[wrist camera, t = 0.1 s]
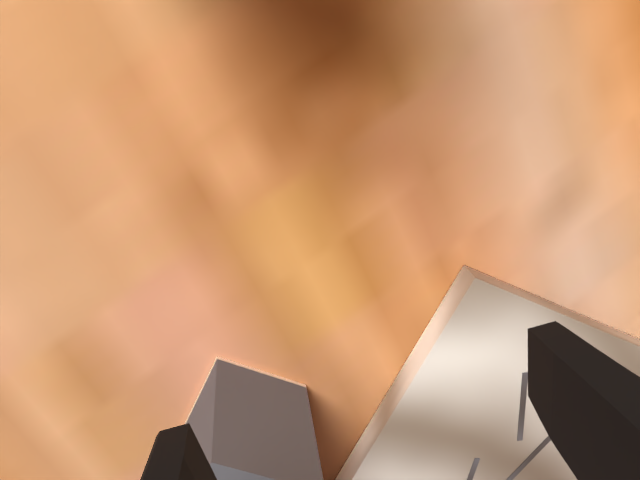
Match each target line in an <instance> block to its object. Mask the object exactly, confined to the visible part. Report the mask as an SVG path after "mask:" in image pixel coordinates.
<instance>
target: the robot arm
mask: <svg viewBox="0 0 640 480" xmlns="http://www.w3.org/2000/svg"><path fill="white" fill-rule="evenodd" d="M528 397H529V399H530V401H531V403H532V405H533V407H534V409H535V411H536V413H537V415H538V417H539V419H540V421H541V422H542V424H543V426H544V428H545V430H546V432H547V434H548V436H549V437H550V439H551V441H552V442H553V444H554V445H555V447H556V449H557V450H558V452H559V453H560V455H561V456H562V458H563V459H564V460H565V462H566V463H567V465H568V466H569V468H570V469H571V471H572V472H573V474H574V475H575V477H576V478H577V480H640V377H639V376H638V375H636V374H635V373H633V372H631V371H630V370H628V369H627V368H625V367H624V366H622V365H621V364H619V363H618V362H616V361H615V360H613V359H612V358H610V357H609V356H607V355H606V354H604V353H603V352H601V351H600V350H598V349H597V348H595V347H594V346H592V345H591V344H589V343H588V342H586V341H585V340H583V339H582V338H581V337H579V336H578V335H576V334H575V333H573V332H572V331H570V330H569V329H567V328H566V327H564V326H563V325H561V324H560V323H558V322H557V321H553V322H550V323H546V324H543V325H539V326H535V327H532V328H528ZM140 480H217V478H216V476H215V474H214V472H213V470H212V468H211V466H210V464H209V462H208V460H207V458H206V456H205V454H204V452H203V450H202V448H201V446H200V444H199V442H198V440H197V438H196V436H195V434H194V432H193V430H192V428H191V426H190V424H189V423H188V424H184V425H180V426H177V427H173V428H170V429H166V430H163V431H160V432H159V433H158V435H157V436H156V439H155V442H154V445H153V447H152V450H151V453H150V456H149V458H148V461H147V464H146V466H145V469H144V472H143V474H142V477H141V479H140Z"/></svg>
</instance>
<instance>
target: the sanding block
mask: <svg viewBox="0 0 640 480" xmlns="http://www.w3.org/2000/svg"><path fill="white" fill-rule="evenodd" d="M188 423H189V424H190V426H191V428H192V430H193V432H194V434H195V436H196V438H197V440H198V442H199V444H200V446H201V448H202V450H203V452H204V454H205V456H206V458H207V460H208V462H209V464H210V466H211V468H212V470H213V472H214V474H215V476H216V478H217V480H323V474H322V469H321V463H320V458H319V453H318V447H317V442H316V436H315V431H314V426H313V420H312V415H311V409H310V404H309V398H308V393H307V388H306V385H305V384H302V383H299V382H296V381H293V380H290V379H287V378H283V377H280V376H277V375H274V374H271V373H268V372H265V371H262V370H259V369H256V368H252V367H249V366H246V365H243V364H240V363H237V362H234V361H231V360H228V359H225V358H222V357H218V356H217V357H216V360H215V362H214V364H213V366H212V368H211V370H210V372H209V374H208V376H207V378H206V380H205V382H204V385H203V387H202V389H201V391H200V393H199V395H198V397H197V399H196V401H195V403H194V405H193V407H192V410H191V412H190V414H189V416H188V418H187V420H186V422H185V424H188Z"/></svg>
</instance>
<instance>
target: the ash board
mask: <svg viewBox="0 0 640 480" xmlns="http://www.w3.org/2000/svg"><path fill="white" fill-rule="evenodd" d="M553 321H557V322H558V323H560V324H561V325H563V326H564V327H566V328H567V329H569V330H570V331H572V332H573V333H575V334H576V335H578V336H579V337H581V338H582V339H583V340H585V341H586V342H588V343H589V344H591V345H592V346H594V347H595V348H597V349H598V350H600V351H601V352H603V353H604V354H606V355H607V356H609V357H610V358H612V359H613V360H615V361H616V362H618V363H619V364H621V365H622V366H624V367H625V368H627V369H628V370H630V371H631V372H633V373H635V374H636V375H638V376H639V377H640V339H638V338H635V337H633V336H631V335H628V334H626V333H624V332H621V331H619V330H616V329H614V328H612V327H609V326H607V325H605V324H602V323H600V322H598V321H595V320H593V319H591V318H588V317H586V316H583V315H581V314H579V313H576V312H574V311H572V310H569V309H567V308H565V307H562V306H560V305H557V304H555V303H553V302H550V301H548V300H546V299H543V298H541V297H539V296H536V295H534V294H531V293H529V292H527V291H524V290H522V289H520V288H517V287H515V286H513V285H510V284H508V283H505V282H503V281H501V280H498V279H496V278H494V277H491V276H489V275H487V274H484V273H482V272H480V271H477V270H475V269H472V268H470V267H468V266H465V265H463V267H462V269H461V270H460V272H459V274H458V275H457V277H456V279H455V280H454V282H453V284H452V285H451V287H450V289H449V290H448V292H447V294H446V295H445V297H444V299H443V300H442V302H441V304H440V305H439V307H438V309H437V310H436V312H435V314H434V315H433V317H432V319H431V320H430V322H429V324H428V325H427V327H426V329H425V330H424V332H423V334H422V335H421V337H420V339H419V340H418V342H417V344H416V345H415V347H414V349H413V350H412V352H411V354H410V355H409V357H408V359H407V360H406V362H405V364H404V365H403V367H402V369H401V370H400V372H399V374H398V375H397V377H396V379H395V380H394V382H393V384H392V385H391V387H390V389H389V390H388V392H387V394H386V395H385V397H384V399H383V400H382V402H381V404H380V405H379V407H378V409H377V410H376V412H375V414H374V415H373V417H372V419H371V420H370V422H369V424H368V425H367V427H366V429H365V430H364V432H363V434H362V435H361V437H360V439H359V440H358V442H357V444H356V445H355V447H354V449H353V450H352V452H351V454H350V455H349V457H348V459H347V460H346V462H345V464H344V465H343V467H342V469H341V470H340V472H339V474H338V475H337V477H336V479H335V480H577V478H576V477H575V475H574V474H573V472H572V471H571V469H570V468H569V466H568V465H567V463H566V462H565V460H564V459H563V458H562V456H561V455H560V453H559V452H558V450H557V449H556V447H555V445H554V444H553V442H552V441H551V439H550V437H549V436H548V434H547V432H546V430H545V428H544V426H543V424H542V422H541V421H540V419H539V417H538V415H537V413H536V411H535V409H534V407H533V405H532V403H531V401H530V399H529V397H528V328H532V327H535V326H539V325H543V324H546V323H550V322H553Z"/></svg>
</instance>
